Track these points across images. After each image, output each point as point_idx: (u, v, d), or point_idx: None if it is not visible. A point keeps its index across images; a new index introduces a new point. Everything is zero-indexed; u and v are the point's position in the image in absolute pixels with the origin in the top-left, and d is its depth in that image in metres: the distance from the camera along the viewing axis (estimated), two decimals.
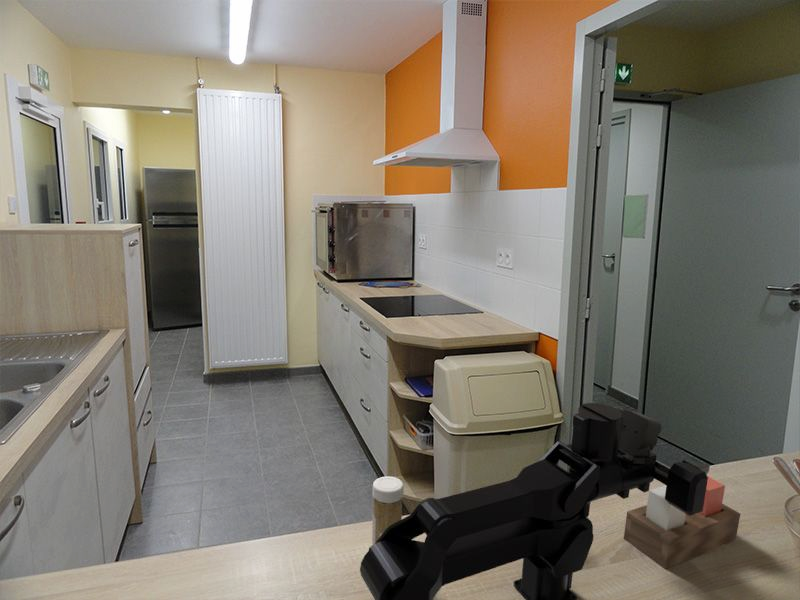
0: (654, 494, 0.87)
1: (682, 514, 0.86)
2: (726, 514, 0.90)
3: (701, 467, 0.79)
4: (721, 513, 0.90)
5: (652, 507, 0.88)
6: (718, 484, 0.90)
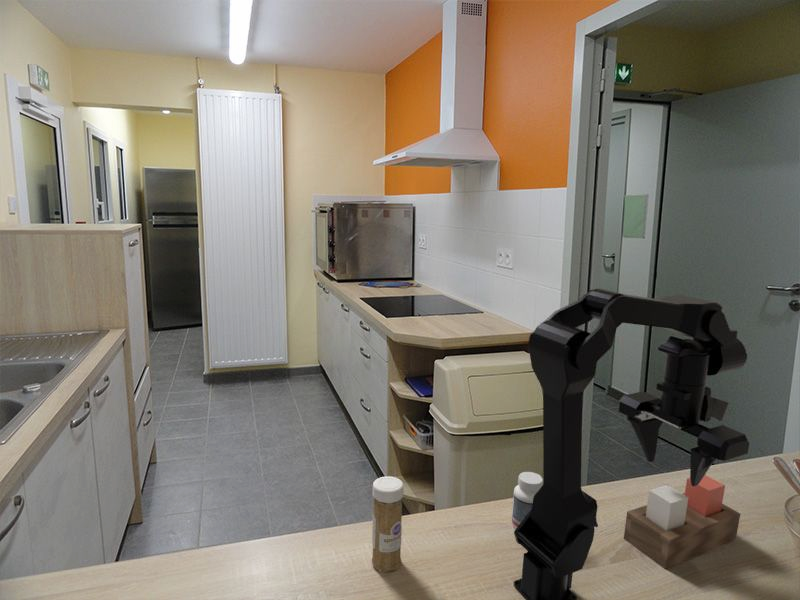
0: (654, 494, 0.87)
1: (682, 514, 0.86)
2: (726, 514, 0.90)
3: None
4: (721, 513, 0.90)
5: (652, 507, 0.88)
6: (718, 484, 0.90)
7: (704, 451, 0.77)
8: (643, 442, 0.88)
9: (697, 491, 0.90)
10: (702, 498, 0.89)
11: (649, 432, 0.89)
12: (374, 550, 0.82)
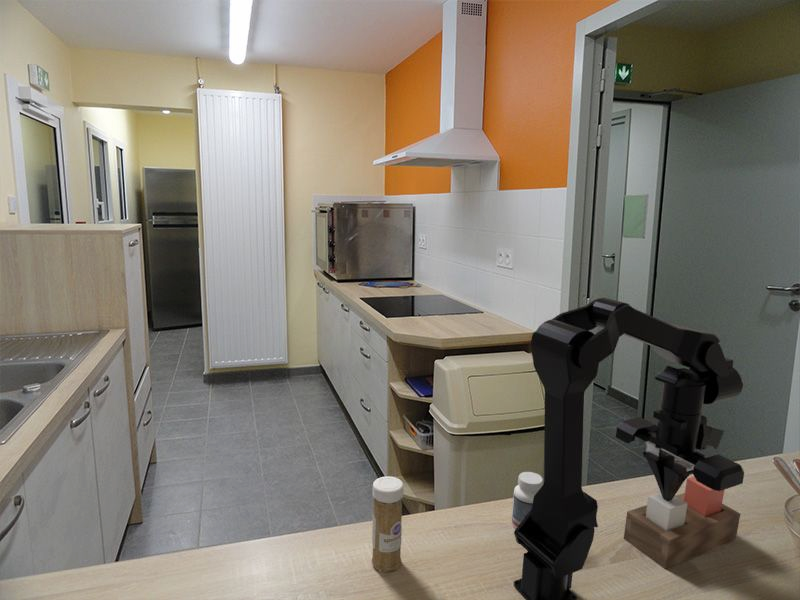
0: (653, 500, 0.87)
1: (681, 520, 0.87)
2: (726, 514, 0.90)
3: None
4: (721, 513, 0.90)
5: (651, 513, 0.88)
6: None
7: (699, 481, 0.78)
8: (659, 480, 0.86)
9: (697, 491, 0.90)
10: (702, 498, 0.89)
11: None
12: (374, 550, 0.82)
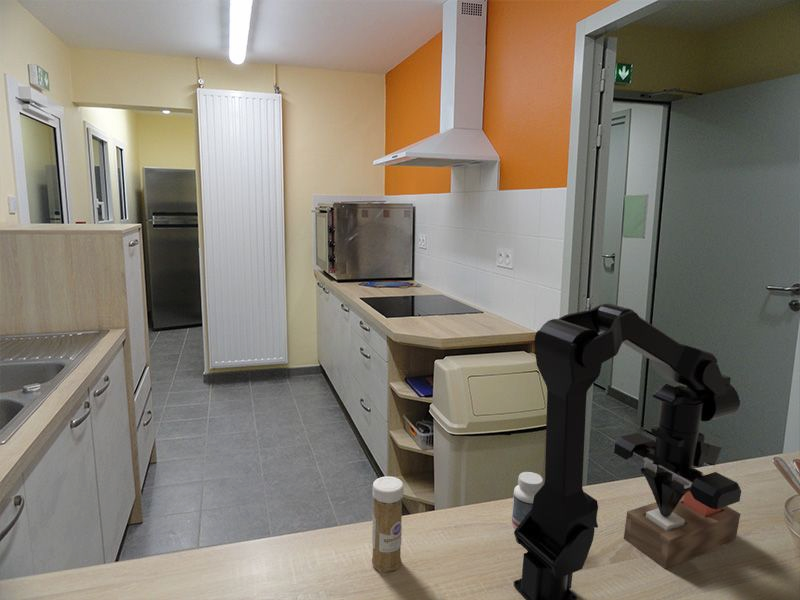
0: (651, 516, 0.88)
1: None
2: (726, 514, 0.90)
3: None
4: (721, 513, 0.90)
5: None
6: None
7: (697, 499, 0.79)
8: (657, 496, 0.87)
9: None
10: None
11: None
12: (374, 550, 0.82)
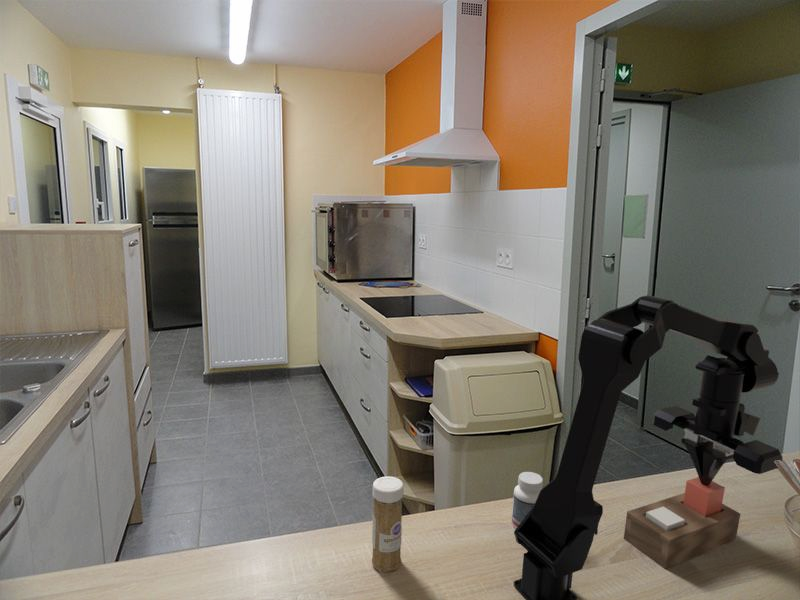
0: (651, 516, 0.88)
1: None
2: (726, 514, 0.90)
3: None
4: (721, 513, 0.90)
5: None
6: (718, 486, 0.90)
7: (740, 464, 0.82)
8: (698, 465, 0.90)
9: (697, 493, 0.90)
10: (702, 500, 0.89)
11: None
12: (374, 550, 0.82)
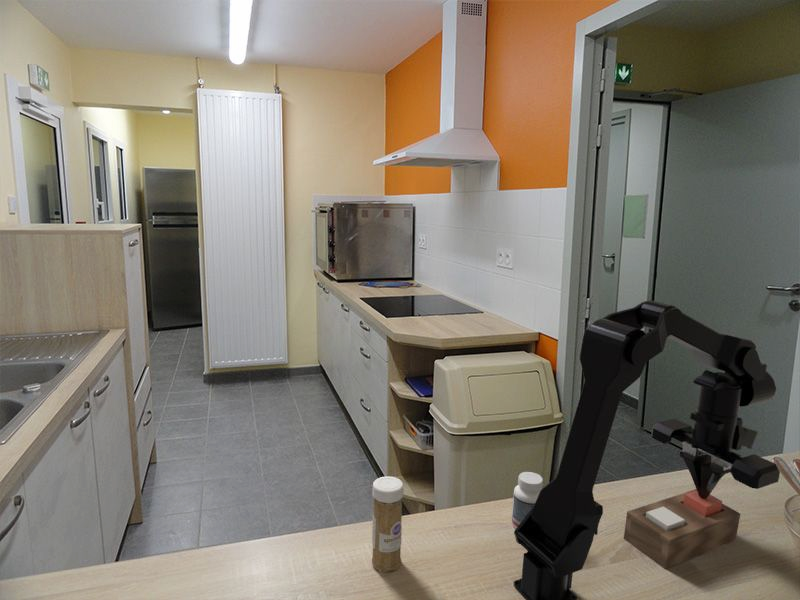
0: (651, 516, 0.88)
1: None
2: (726, 514, 0.90)
3: None
4: (721, 513, 0.90)
5: None
6: (715, 500, 0.91)
7: (737, 479, 0.83)
8: (696, 478, 0.90)
9: (694, 507, 0.91)
10: None
11: None
12: (374, 550, 0.82)
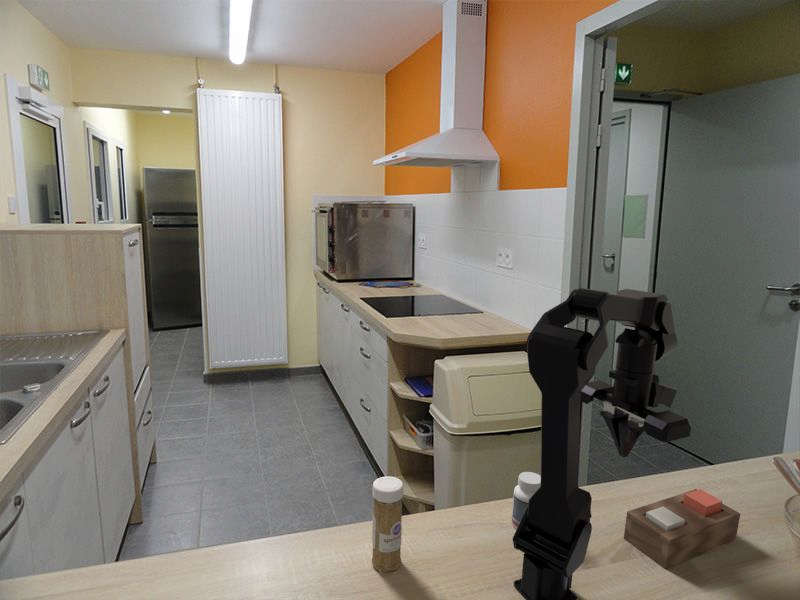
0: (651, 516, 0.88)
1: None
2: (726, 514, 0.90)
3: None
4: (721, 513, 0.90)
5: None
6: (715, 500, 0.91)
7: (649, 433, 0.83)
8: (615, 436, 0.91)
9: (694, 507, 0.91)
10: None
11: None
12: (374, 550, 0.82)
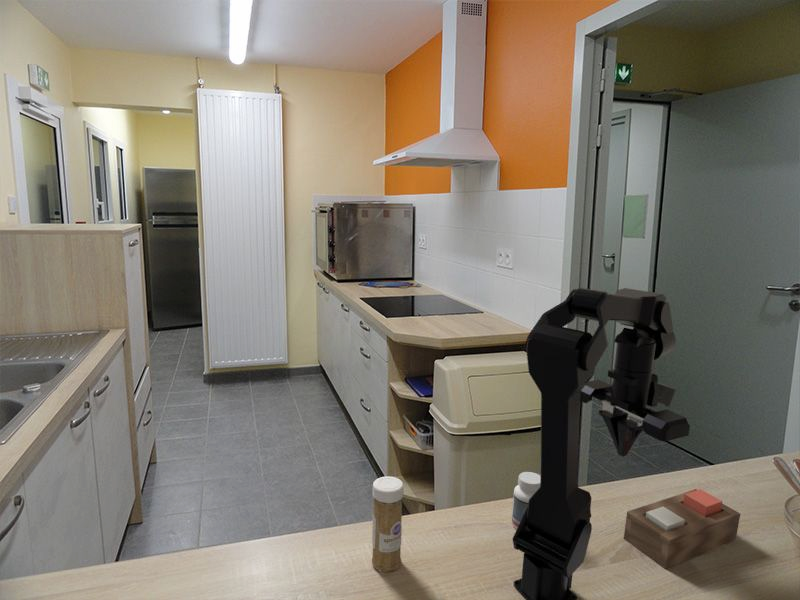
0: (651, 516, 0.88)
1: None
2: (726, 514, 0.90)
3: None
4: (721, 513, 0.90)
5: None
6: (715, 500, 0.91)
7: (648, 433, 0.83)
8: (614, 436, 0.91)
9: (694, 507, 0.91)
10: None
11: None
12: (374, 550, 0.82)
